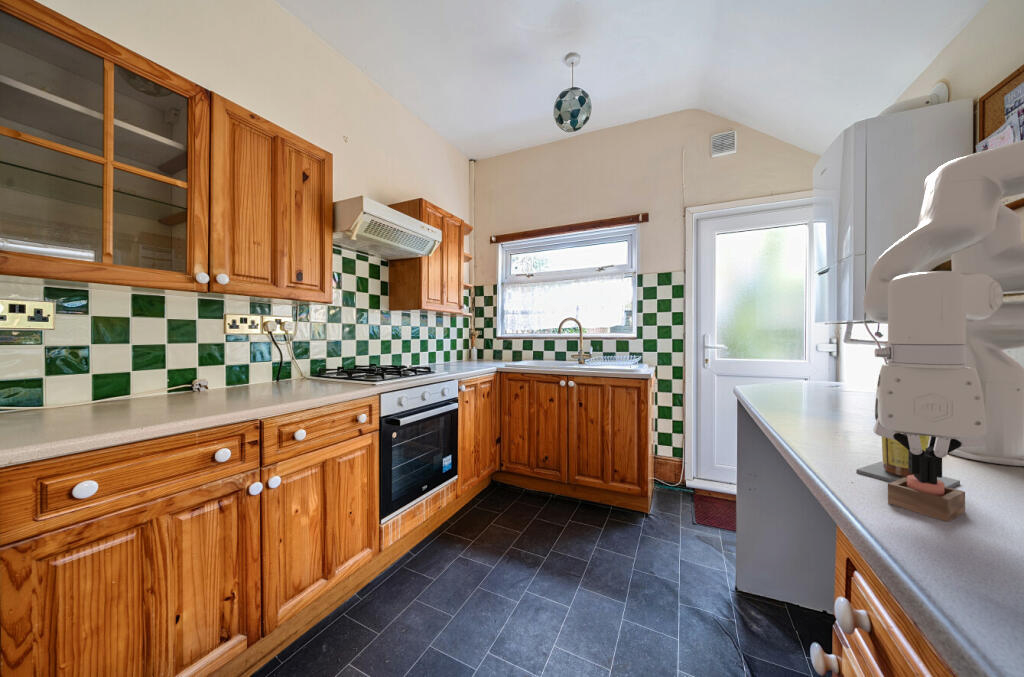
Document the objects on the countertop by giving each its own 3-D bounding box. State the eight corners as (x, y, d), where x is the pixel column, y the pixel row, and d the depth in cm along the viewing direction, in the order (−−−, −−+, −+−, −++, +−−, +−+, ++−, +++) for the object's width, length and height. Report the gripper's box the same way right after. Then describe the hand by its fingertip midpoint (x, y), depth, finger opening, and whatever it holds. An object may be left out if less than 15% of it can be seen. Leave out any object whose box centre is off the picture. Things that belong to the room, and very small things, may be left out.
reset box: (906, 495, 57) (906, 476, 57) (965, 512, 51) (965, 491, 51) (887, 503, 54) (887, 483, 54) (947, 521, 49) (947, 500, 49)
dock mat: (880, 464, 70) (880, 461, 69) (960, 483, 60) (960, 480, 60) (856, 472, 66) (856, 469, 66) (937, 494, 57) (937, 490, 57)
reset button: (913, 488, 55) (913, 473, 55) (948, 498, 52) (948, 482, 52) (902, 493, 54) (902, 477, 54) (938, 503, 50) (938, 487, 50)
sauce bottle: (946, 483, 59) (946, 364, 59) (902, 481, 61) (901, 364, 60) (910, 468, 66) (910, 361, 66) (871, 466, 67) (870, 361, 67)
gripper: (860, 356, 54) (860, 477, 54) (1023, 360, 45) (1023, 503, 45) (850, 354, 60) (850, 462, 60) (992, 356, 51) (992, 483, 51)
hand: (924, 480), depth 53 cm, fingers closed
